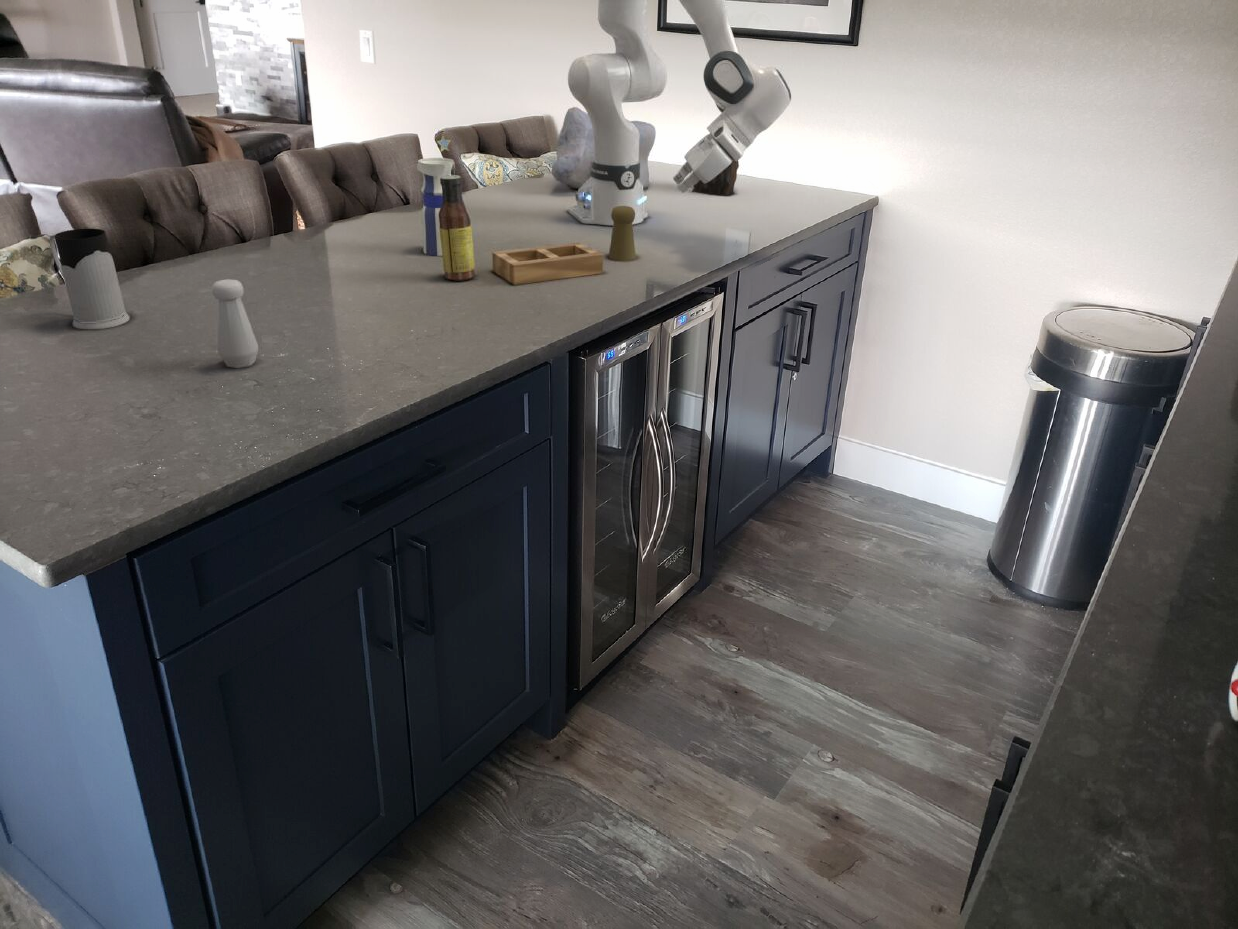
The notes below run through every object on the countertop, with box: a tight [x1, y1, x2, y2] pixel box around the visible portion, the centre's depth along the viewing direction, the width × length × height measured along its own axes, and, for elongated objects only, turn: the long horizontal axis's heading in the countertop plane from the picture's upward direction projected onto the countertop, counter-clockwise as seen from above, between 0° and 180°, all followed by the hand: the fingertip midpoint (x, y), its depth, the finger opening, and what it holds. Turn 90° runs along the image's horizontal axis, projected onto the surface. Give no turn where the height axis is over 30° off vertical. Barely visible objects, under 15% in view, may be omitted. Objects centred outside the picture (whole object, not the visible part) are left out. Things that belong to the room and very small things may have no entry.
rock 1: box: [551, 106, 657, 189], centre depth 268 cm, size 23×30×27 cm
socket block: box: [491, 242, 604, 286], centre depth 192 cm, size 11×20×4 cm, turn 119°
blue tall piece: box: [416, 135, 456, 257], centre depth 200 cm, size 8×9×25 cm
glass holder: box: [49, 228, 131, 330], centre depth 157 cm, size 9×14×15 cm, turn 58°
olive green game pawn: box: [608, 206, 637, 262], centre depth 202 cm, size 6×6×11 cm
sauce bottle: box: [439, 174, 476, 282], centre depth 183 cm, size 7×6×20 cm
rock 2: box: [691, 160, 740, 197], centre depth 267 cm, size 13×13×20 cm
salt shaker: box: [211, 278, 259, 369], centre depth 141 cm, size 6×6×13 cm
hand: (677, 185), depth 198 cm, fingers open, 8 cm apart
